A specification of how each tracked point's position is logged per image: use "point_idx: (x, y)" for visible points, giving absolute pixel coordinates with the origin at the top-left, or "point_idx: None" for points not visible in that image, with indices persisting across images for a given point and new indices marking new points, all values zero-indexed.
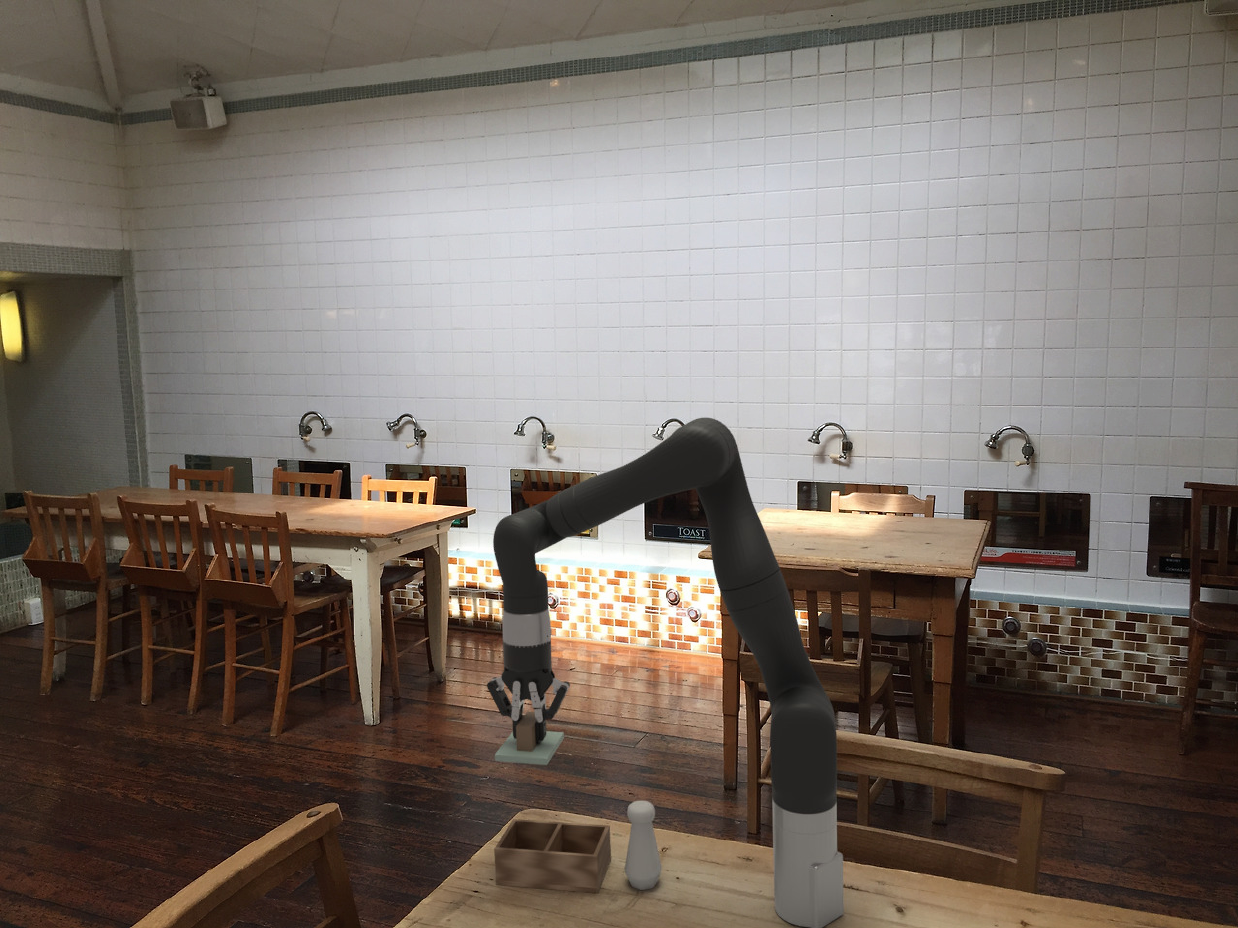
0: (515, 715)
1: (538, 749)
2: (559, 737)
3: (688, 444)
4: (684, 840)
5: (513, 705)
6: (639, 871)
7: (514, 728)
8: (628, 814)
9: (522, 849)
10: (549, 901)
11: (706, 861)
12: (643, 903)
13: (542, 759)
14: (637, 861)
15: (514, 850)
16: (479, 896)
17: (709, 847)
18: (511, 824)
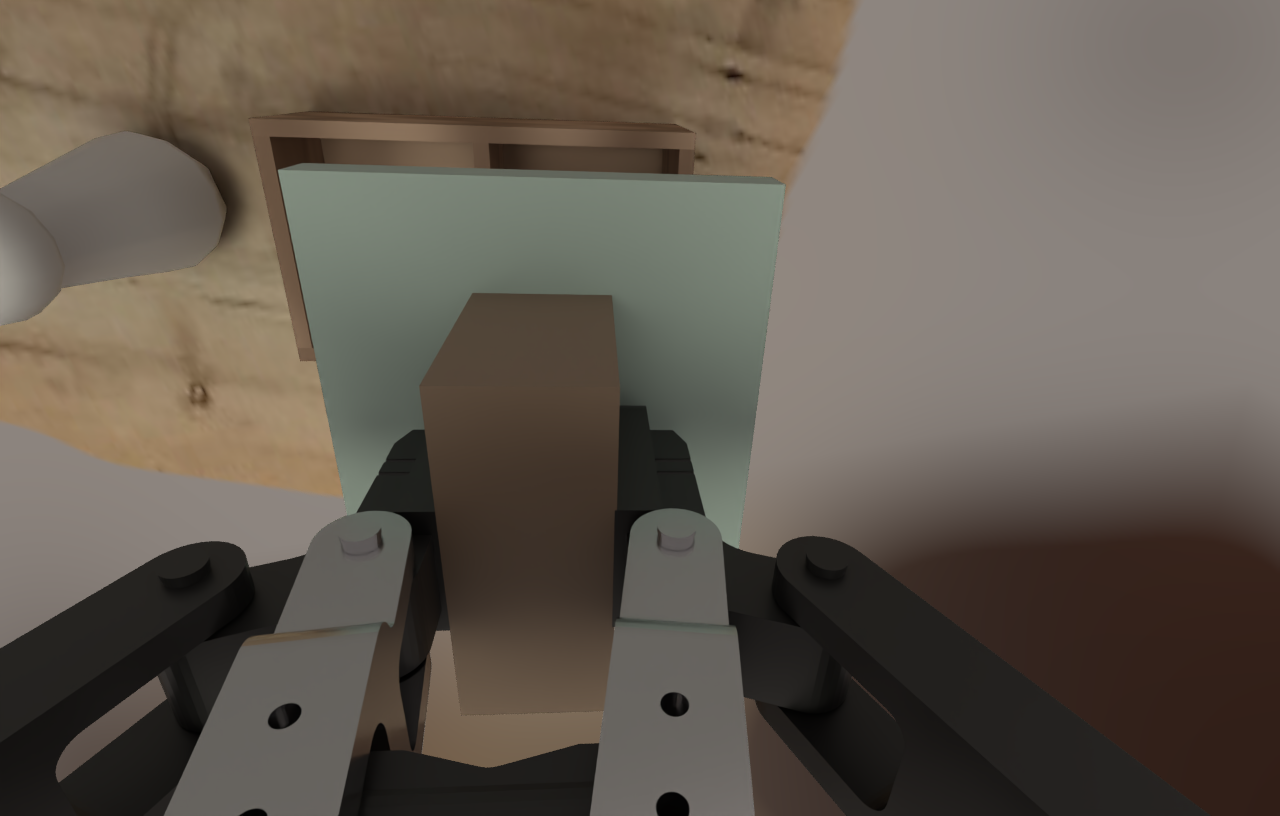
0: (670, 548)
1: (436, 345)
2: None
3: None
4: (158, 448)
5: (703, 627)
6: (111, 137)
7: (677, 479)
8: (13, 220)
9: (579, 142)
10: (459, 37)
11: (28, 345)
12: (118, 62)
13: (326, 171)
14: (102, 152)
15: (610, 130)
16: (713, 42)
17: (59, 422)
18: None
